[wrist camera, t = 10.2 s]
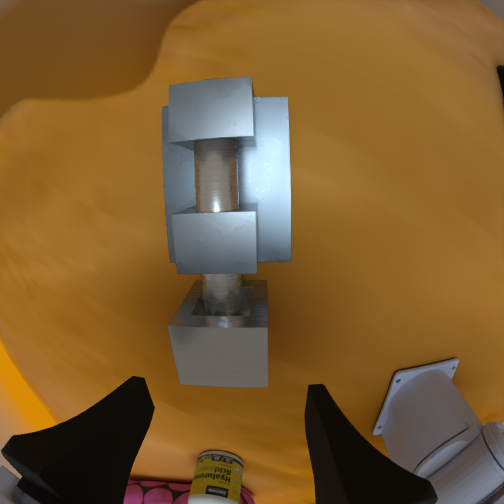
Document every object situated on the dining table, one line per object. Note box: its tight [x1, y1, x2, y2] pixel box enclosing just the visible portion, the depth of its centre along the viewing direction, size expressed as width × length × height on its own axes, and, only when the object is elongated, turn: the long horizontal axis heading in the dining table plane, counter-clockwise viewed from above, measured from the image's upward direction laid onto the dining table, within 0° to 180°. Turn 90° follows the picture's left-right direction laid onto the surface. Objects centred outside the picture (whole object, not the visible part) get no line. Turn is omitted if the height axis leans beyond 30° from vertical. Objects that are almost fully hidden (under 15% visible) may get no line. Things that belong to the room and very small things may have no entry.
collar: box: [168, 280, 268, 388], centre depth 17 cm, size 4×5×6 cm
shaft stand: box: [162, 77, 291, 316], centre depth 16 cm, size 16×8×5 cm, turn 2°
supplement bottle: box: [188, 451, 243, 504], centre depth 21 cm, size 5×5×10 cm
